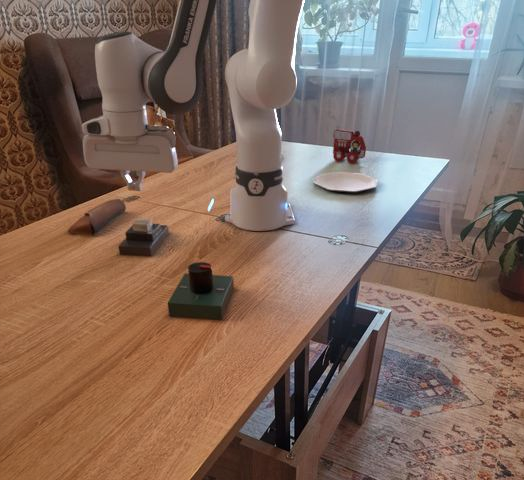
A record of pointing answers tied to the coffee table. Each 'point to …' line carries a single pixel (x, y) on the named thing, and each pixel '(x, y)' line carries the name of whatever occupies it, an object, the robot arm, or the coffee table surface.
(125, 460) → the coffee table surface
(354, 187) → the plate
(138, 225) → the key
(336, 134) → the toy fire truck
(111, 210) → the sunglasses case
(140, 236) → the key block
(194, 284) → the volume dial
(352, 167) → the coffee table surface
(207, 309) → the volume panel
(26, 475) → the coffee table surface
